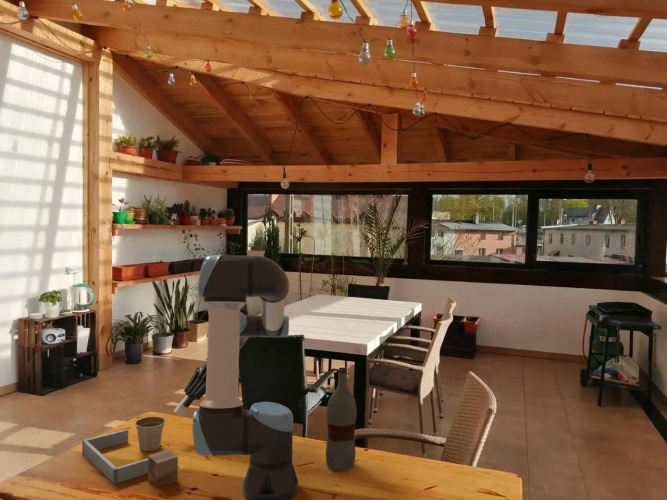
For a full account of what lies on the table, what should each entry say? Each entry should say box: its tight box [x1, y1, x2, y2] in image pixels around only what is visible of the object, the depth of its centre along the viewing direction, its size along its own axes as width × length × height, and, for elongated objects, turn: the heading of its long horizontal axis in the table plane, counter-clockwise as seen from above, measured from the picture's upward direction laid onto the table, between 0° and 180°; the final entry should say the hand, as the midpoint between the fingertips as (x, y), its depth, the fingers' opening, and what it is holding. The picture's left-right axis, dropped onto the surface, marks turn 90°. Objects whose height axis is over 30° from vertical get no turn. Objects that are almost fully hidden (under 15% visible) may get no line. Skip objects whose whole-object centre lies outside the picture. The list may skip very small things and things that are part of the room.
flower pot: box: [134, 415, 167, 452], centre depth 166 cm, size 9×9×9 cm
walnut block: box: [147, 449, 179, 488], centre depth 145 cm, size 6×6×7 cm
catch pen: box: [81, 428, 148, 485], centre depth 156 cm, size 26×14×4 cm, turn 44°
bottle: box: [325, 367, 358, 473], centre depth 156 cm, size 9×9×30 cm
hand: (177, 413), depth 172 cm, fingers closed
